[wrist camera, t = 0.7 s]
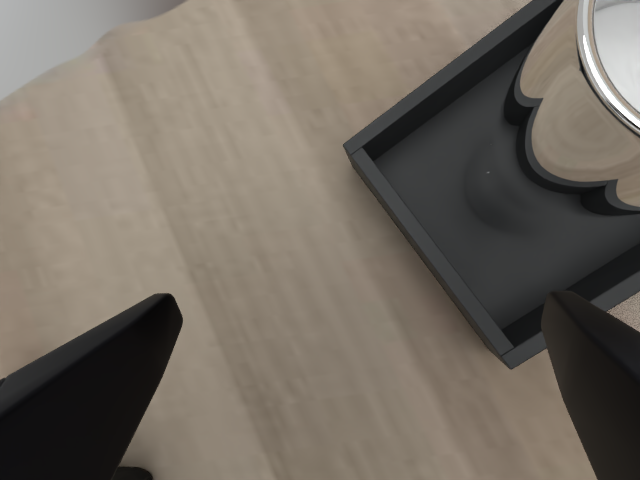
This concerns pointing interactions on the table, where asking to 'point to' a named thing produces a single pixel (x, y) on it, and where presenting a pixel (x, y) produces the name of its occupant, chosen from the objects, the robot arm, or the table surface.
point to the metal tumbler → (567, 124)
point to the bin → (461, 219)
